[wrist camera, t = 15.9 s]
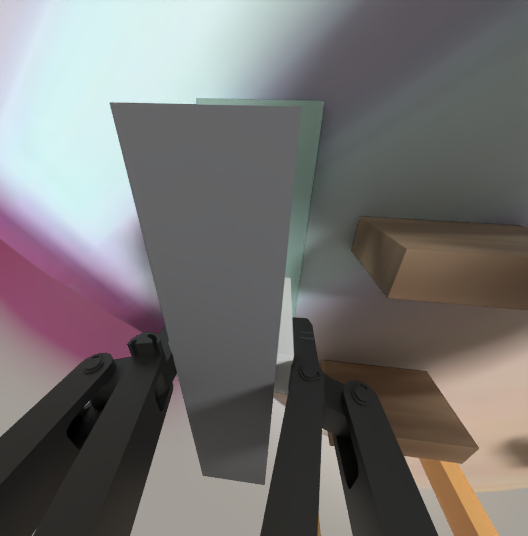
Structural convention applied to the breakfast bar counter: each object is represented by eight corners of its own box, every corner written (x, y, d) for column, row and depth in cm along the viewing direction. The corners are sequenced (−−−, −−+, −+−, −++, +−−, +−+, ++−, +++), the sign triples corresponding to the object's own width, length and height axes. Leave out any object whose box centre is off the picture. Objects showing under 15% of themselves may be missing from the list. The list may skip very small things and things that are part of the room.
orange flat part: (295, 416, 21) (302, 627, 11) (441, 435, 20) (585, 685, 10) (292, 431, 22) (297, 630, 13) (429, 450, 21) (545, 681, 12)
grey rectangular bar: (190, 131, 8) (109, 102, 4) (293, 134, 7) (301, 106, 4) (220, 408, 16) (202, 475, 13) (269, 415, 16) (264, 484, 13)
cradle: (359, 216, 14) (406, 248, 8) (519, 225, 13) (682, 267, 8) (319, 376, 21) (329, 445, 16) (417, 387, 21) (462, 463, 15)
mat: (200, 101, 12) (196, 98, 11) (322, 103, 11) (324, 100, 11) (222, 365, 22) (221, 369, 22) (286, 372, 22) (286, 377, 21)
